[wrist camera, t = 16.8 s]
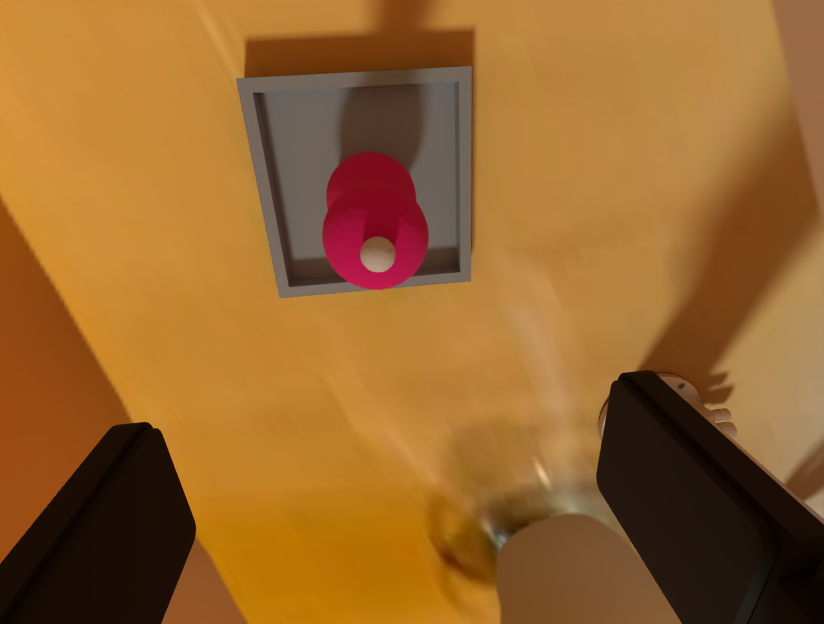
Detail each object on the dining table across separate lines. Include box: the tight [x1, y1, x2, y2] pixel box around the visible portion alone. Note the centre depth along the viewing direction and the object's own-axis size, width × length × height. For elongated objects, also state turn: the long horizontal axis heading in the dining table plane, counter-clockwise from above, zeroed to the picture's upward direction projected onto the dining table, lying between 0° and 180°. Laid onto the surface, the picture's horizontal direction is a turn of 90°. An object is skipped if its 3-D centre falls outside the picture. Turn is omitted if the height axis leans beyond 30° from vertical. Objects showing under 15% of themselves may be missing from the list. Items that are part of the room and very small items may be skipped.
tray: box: [236, 66, 472, 298], centre depth 38 cm, size 18×18×2 cm
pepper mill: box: [322, 152, 429, 290], centre depth 30 cm, size 7×7×20 cm
